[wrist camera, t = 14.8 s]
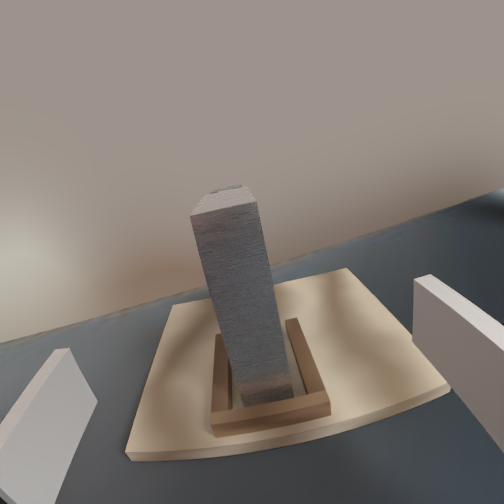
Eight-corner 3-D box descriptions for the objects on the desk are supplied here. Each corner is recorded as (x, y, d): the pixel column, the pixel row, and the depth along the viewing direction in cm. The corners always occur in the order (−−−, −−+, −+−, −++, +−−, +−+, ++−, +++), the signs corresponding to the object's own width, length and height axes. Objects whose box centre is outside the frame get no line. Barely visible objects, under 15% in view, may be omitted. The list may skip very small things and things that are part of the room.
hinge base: (347, 275, 36) (345, 257, 35) (449, 392, 16) (455, 365, 15) (175, 312, 36) (169, 295, 35) (131, 461, 16) (116, 439, 15)
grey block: (272, 319, 28) (244, 182, 25) (295, 404, 18) (256, 201, 14) (239, 326, 28) (206, 191, 25) (246, 414, 17) (189, 216, 14)
